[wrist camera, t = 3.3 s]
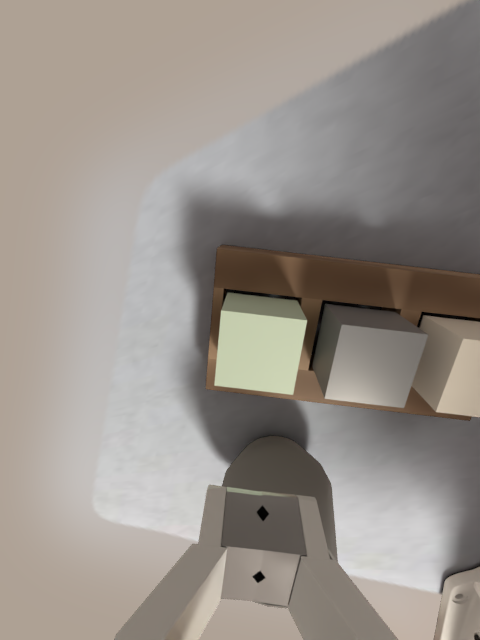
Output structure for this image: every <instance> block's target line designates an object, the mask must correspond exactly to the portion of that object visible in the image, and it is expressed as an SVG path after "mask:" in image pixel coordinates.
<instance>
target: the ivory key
mask: <svg viewBox="0 0 480 640" xmlns="http://www.w3.org/2000/svg"><path fill="white" fill-rule="evenodd" d="M419 328H420V329H421V330H422V331H424V332H425V333H427V334H428V338H427V341H426V344H425V347H424V350H423V353H422V356H421V359H420V362H419V365H418V368H417V371H416V374H415V377H414V380H413V383H412V387H413V388H414V389H415V390H416V391H417V392H418V393H419V394H420V395H421V397H422V398H423V399H424V400H425V401H426V402H427V403H428V404H429V405H430V406H431V407H432V408H433V410H434V411H435V412H440V413H448V414H457V415H465V416H473V417H480V322H477V321H469V320H460V319H452V318H443V317H434V316H426V315H423V317H422V321H421V324H420V327H419Z"/></svg>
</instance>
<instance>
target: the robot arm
mask: <svg viewBox="0 0 480 640" xmlns="http://www.w3.org/2000/svg"><path fill="white" fill-rule="evenodd" d="M220 599H233V600H247V601H256V602H263V603H269V604H276V605H283V606H289V607H288V609H289V611H290V613H291V615H292V617H293V619H294V621H295V623H296V625H297V628H298V630H299V632H300V633H301V635H302V638H303V640H398V639H397V637H396V636H395V635H394V634H393V632H392V631H391V630H390V629H389V627H388V626H387V625H386V624H385V622H384V621H383V620H382V619H381V617H380V616H379V615H378V613H377V612H376V611H375V609H374V608H373V607H372V606H371V604H370V603H369V602H368V600H367V599H366V598H365V597H364V596H363V594H362V593H361V592H360V590H359V589H358V588H357V586H356V585H355V584H354V583H353V582H352V580H351V579H350V578H349V576H348V575H347V574H346V572H345V571H344V570H343V569H342V567H341V566H340V565H339V564H338V562H337V561H336V560H331V559H330V557H329V553H328V548H327V544H326V539H325V535H324V531H323V526H322V522H321V518H320V513H319V509H318V505H317V500H316V499H315V497H310V496H301V495H294V494H284V493H274V492H264V491H261V492H259V491H252V490H246V489H239V488H232V487H227V489H226V487H223V486H216V485H209V486H208V489H207V494H206V500H205V506H204V512H203V518H202V524H201V530H200V536H199V542H198V544H192V545H191V546H190V547H189V549H188V550H187V551H186V552H185V553H184V555H183V556H182V557H181V558H180V559H179V560H178V561H177V563H176V564H175V565H174V566H173V567H172V569H171V570H170V571H169V572H168V573H167V575H166V576H165V577H164V578H163V579H162V581H161V582H160V583H159V584H158V585H157V587H156V588H155V589H154V590H153V591H152V592H151V594H150V595H149V596H148V597H147V598H146V600H145V601H144V602H143V603H142V604H141V606H140V607H139V608H138V609H137V610H136V612H135V613H134V614H133V615H132V616H131V617H130V619H129V620H128V621H127V622H126V623H125V624H124V626H123V627H122V628H121V630H120V631H119V632H118V633H117V634H116V636H115V639H114V640H198V639H199V638H200V636H201V634H202V632H203V631H204V629H205V627H206V625H207V624H208V622H209V620H210V618H211V617H212V615H213V613H214V611H215V610H216V608H217V606H218V604H219V603H220ZM434 640H480V567H478V568H476V569H473V570H469V571H465V572H461V573H457V574H454V575H452V576H450V577H448V578H447V579H446V580H445V583H444V588H443V593H442V598H441V604H440V609H439V614H438V619H437V625H436V630H435V636H434Z"/></svg>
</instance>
